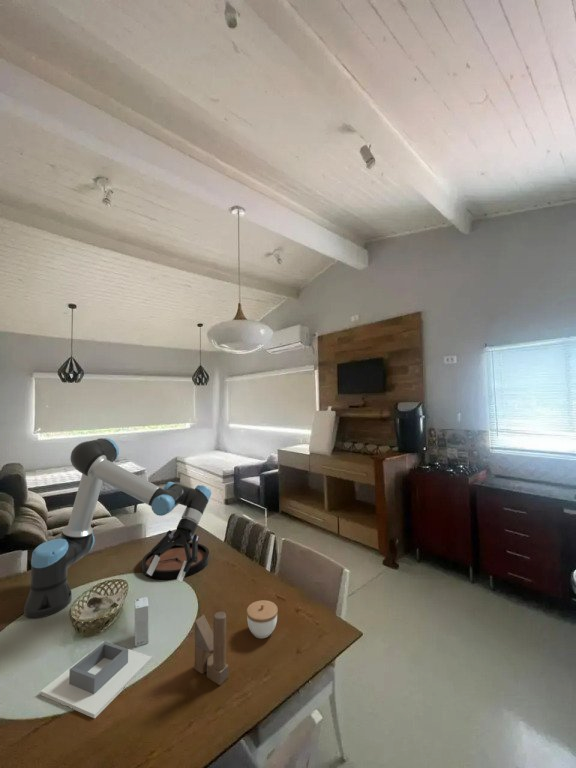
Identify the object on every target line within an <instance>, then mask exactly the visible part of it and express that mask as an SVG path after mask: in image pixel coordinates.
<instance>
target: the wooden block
mask: <svg viewBox="0 0 576 768" xmlns="http://www.w3.org/2000/svg"><path fill="white" fill-rule="evenodd" d="M212 629H213V630H212ZM212 629H211V626H210V624H209V622H208V620H207V618H206V616H205V614H202V615H201V616H199V617H198V618H197V619H195V620H194V670H195V671H197V672H199V673H200V674H201V675H203V674H205V672H206V678H207V679H209V680H211V681H212V682H214V683H215V684H217V685H219V686H222V684H223V683H225V681H226V680H227V679H228V678H229V664H228V663H227V661H226V660H227V656H226V653H227V651H226V650H227V642H226V641H227V614H226V612H225V611H217V612H216V613H215V614H214V615H213V628H212Z"/></svg>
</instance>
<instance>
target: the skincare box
mask: <svg viewBox="0 0 576 768" xmlns="http://www.w3.org/2000/svg"><path fill="white" fill-rule="evenodd" d="M148 599H149V598H148V596H145V597H141V598H136V599H134V646H135V647H138V646H139V647H140V646H143V645H146V644H149V643H150V642H149V640H150V639H149V633H150V630H149V625H150V623H149V601H148Z"/></svg>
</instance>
